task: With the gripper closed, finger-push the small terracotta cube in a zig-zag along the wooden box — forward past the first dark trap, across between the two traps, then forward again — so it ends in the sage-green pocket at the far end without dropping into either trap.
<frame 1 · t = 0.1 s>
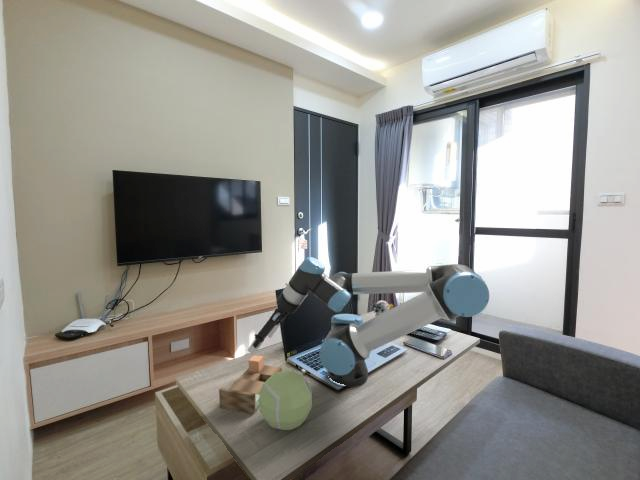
hand: (259, 343, 108), 15 cm above the table, tool tilted 35°, fingers open, 13 cm apart
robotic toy: (384, 327, 161), on the table
wooden box: (254, 389, 106), on the table
cube: (256, 368, 115), point 3 cm above the table, touching wooden box
decorative sphere: (286, 423, 90), on the table
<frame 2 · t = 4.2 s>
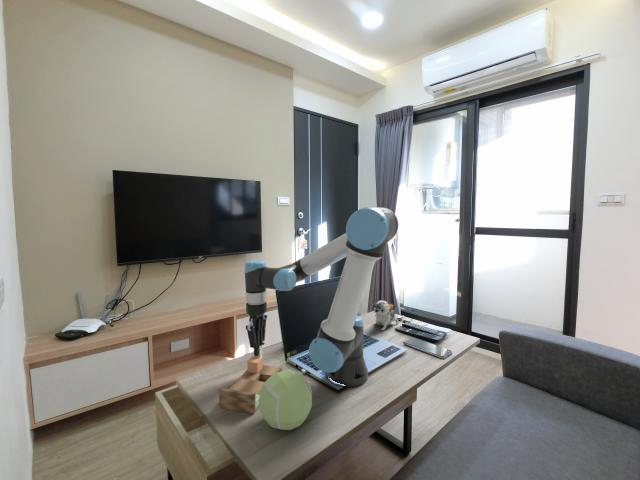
hand: (258, 362, 116), 4 cm above the table, tool pointing down, fingers closed
cube: (255, 369, 114), point 3 cm above the table, touching wooden box, gripper
everything else where it was.
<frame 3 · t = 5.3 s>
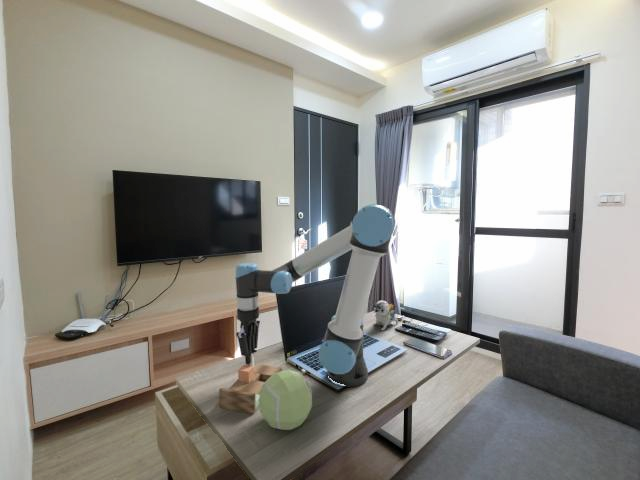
hand: (250, 370, 110), 5 cm above the table, tool pointing down, fingers closed
cube: (246, 378, 108), point 3 cm above the table, touching gripper
everything else where it was.
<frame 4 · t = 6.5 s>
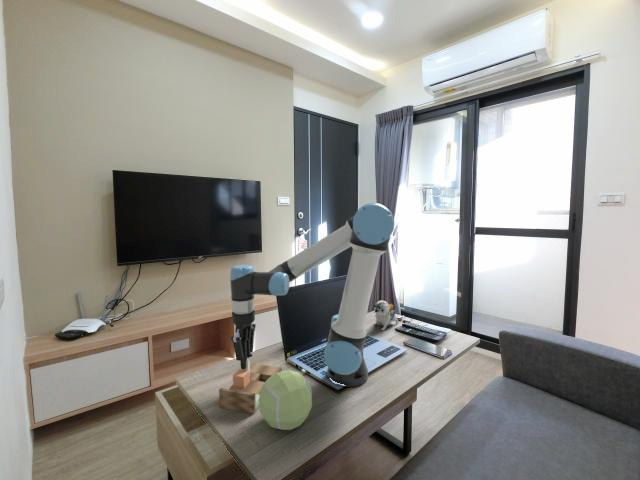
hand: (245, 375, 107), 4 cm above the table, tool pointing down, fingers closed
cube: (241, 384, 104), point 3 cm above the table, touching wooden box, gripper
everything else where it was.
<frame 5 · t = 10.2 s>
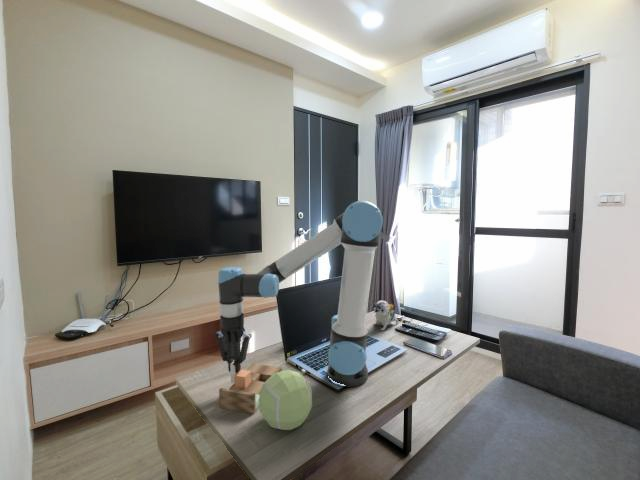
hand: (235, 380, 105), 4 cm above the table, tool pointing down, fingers closed
cube: (242, 384, 104), point 3 cm above the table, touching gripper
everything else where it was.
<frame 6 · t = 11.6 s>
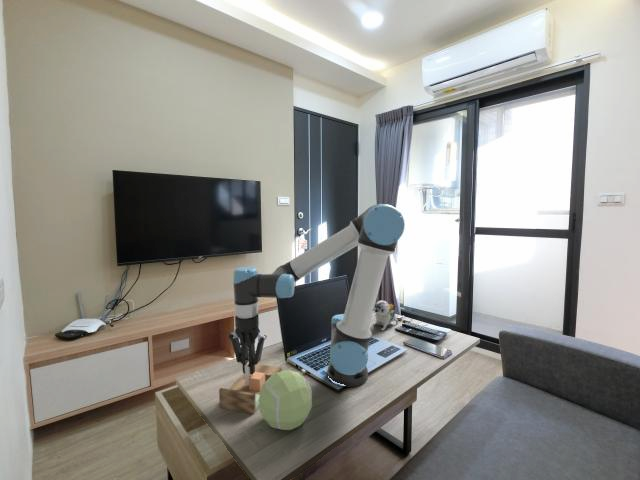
hand: (249, 382, 103), 4 cm above the table, tool pointing down, fingers closed
cube: (257, 386, 103), point 3 cm above the table, touching wooden box, gripper
everything else where it was.
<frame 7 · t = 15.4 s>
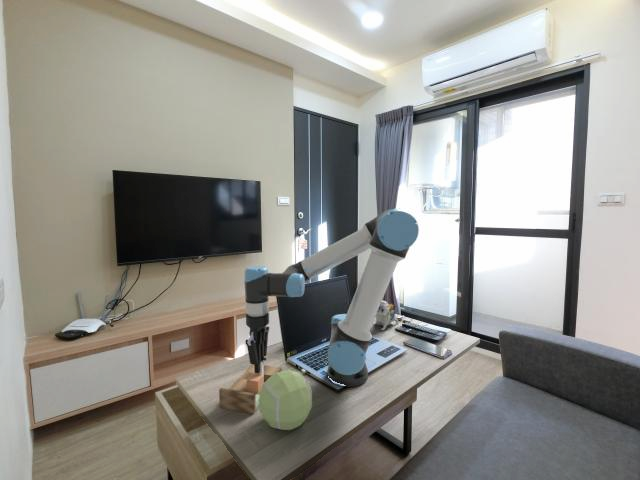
hand: (259, 379, 104), 5 cm above the table, tool pointing down, fingers closed
cube: (255, 388, 102), point 3 cm above the table
everything else where it was.
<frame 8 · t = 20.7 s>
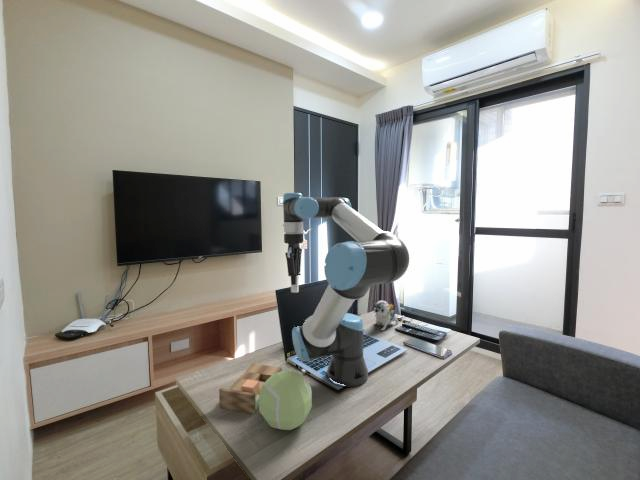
hand: (294, 291, 122), 29 cm above the table, tool pointing down, fingers closed
cube: (250, 395, 98), point 3 cm above the table, touching wooden box
everything else where it was.
at the end: cube 0.5 cm from the target spot, point 3.0 cm above the table; cube tilted 0° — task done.
